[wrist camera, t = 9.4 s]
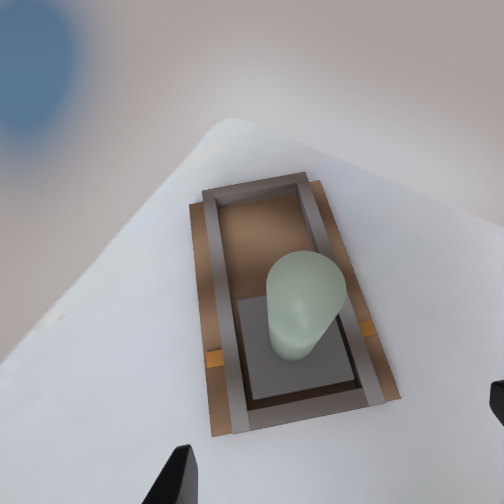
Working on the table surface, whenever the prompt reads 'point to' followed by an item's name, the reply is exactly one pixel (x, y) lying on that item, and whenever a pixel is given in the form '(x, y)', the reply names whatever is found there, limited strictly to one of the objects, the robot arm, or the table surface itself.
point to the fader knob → (296, 327)
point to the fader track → (254, 285)
